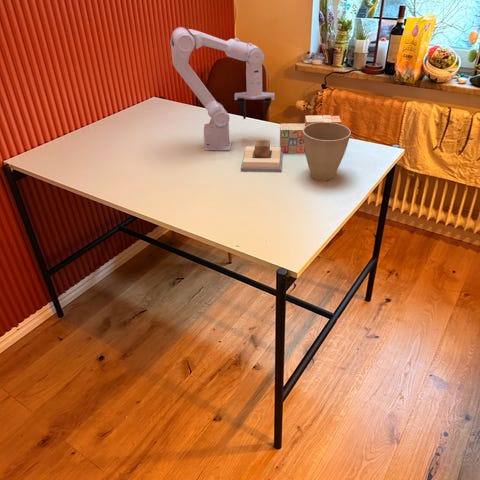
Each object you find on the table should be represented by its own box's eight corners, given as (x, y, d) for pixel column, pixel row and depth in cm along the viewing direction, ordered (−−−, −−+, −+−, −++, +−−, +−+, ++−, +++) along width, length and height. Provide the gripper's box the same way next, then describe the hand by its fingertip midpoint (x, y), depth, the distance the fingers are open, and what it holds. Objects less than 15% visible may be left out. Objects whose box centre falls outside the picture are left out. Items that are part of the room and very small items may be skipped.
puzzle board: (240, 171, 156) (240, 162, 154) (244, 153, 167) (244, 145, 165) (281, 172, 154) (281, 163, 152) (282, 154, 165) (282, 146, 163)
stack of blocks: (279, 153, 166) (280, 121, 159) (279, 146, 171) (280, 115, 164) (338, 153, 164) (341, 121, 157) (336, 146, 169) (339, 114, 162)
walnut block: (254, 161, 158) (254, 146, 155) (256, 155, 162) (255, 140, 159) (268, 162, 158) (269, 146, 154) (269, 155, 162) (269, 140, 158)
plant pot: (317, 191, 143) (321, 144, 134) (292, 172, 154) (293, 127, 144) (354, 179, 148) (360, 133, 139) (327, 161, 159) (331, 118, 150)
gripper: (233, 85, 159) (234, 121, 167) (273, 85, 158) (273, 122, 166) (235, 79, 165) (236, 114, 173) (274, 78, 163) (274, 115, 171)
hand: (254, 118), depth 170 cm, fingers open, 7 cm apart
